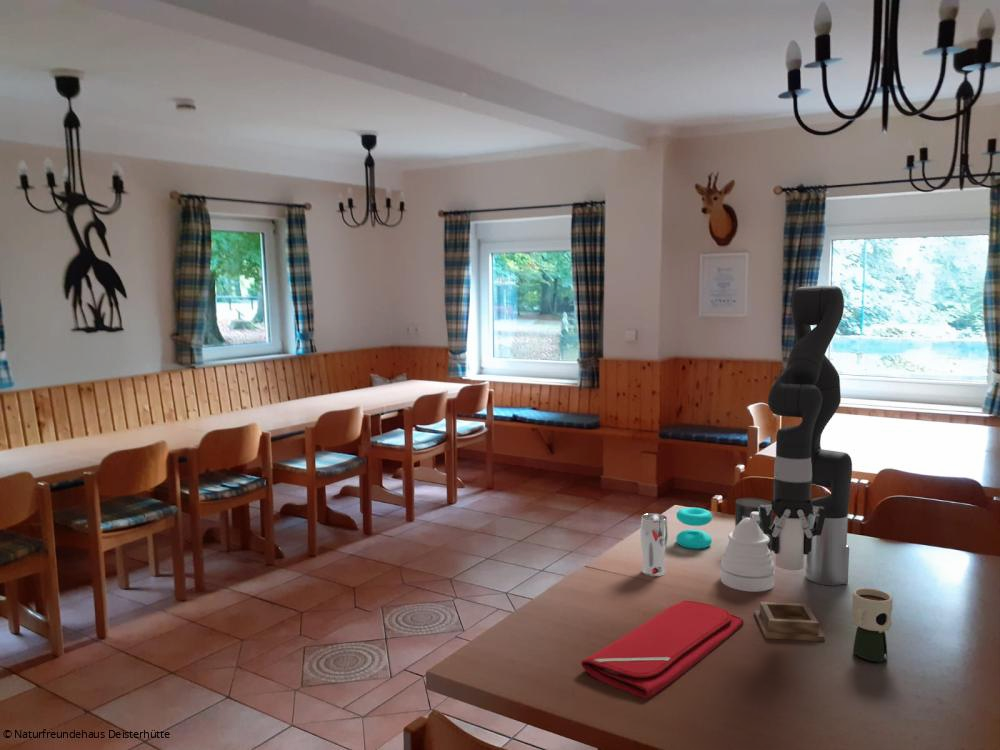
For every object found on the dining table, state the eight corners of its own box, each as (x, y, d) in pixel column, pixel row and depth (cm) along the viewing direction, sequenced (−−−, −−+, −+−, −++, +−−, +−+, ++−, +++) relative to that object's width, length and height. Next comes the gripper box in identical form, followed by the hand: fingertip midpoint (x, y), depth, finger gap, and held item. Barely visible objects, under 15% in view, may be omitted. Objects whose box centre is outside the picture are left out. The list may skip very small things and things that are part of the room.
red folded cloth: (745, 627, 166) (745, 610, 166) (650, 703, 136) (650, 683, 135) (680, 608, 177) (680, 592, 176) (578, 675, 146) (578, 656, 146)
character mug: (873, 672, 145) (876, 607, 144) (838, 658, 151) (840, 595, 150) (901, 655, 152) (904, 593, 150) (866, 642, 157) (869, 582, 156)
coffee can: (773, 558, 207) (774, 508, 206) (734, 555, 210) (735, 506, 209) (771, 546, 217) (772, 498, 216) (734, 543, 220) (735, 496, 219)
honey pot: (766, 573, 197) (768, 506, 195) (780, 592, 184) (782, 520, 182) (716, 572, 198) (717, 505, 196) (726, 591, 185) (727, 519, 183)
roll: (798, 561, 166) (800, 511, 165) (806, 570, 161) (808, 519, 160) (772, 560, 167) (773, 511, 166) (780, 569, 161) (781, 518, 160)
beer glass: (669, 577, 195) (670, 520, 193) (642, 577, 195) (643, 520, 193) (664, 567, 202) (665, 513, 200) (638, 567, 202) (638, 513, 200)
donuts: (671, 512, 217) (683, 504, 226) (671, 546, 218) (682, 537, 227) (706, 517, 212) (716, 509, 221) (705, 552, 213) (715, 542, 222)
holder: (809, 617, 170) (809, 602, 170) (824, 641, 158) (825, 625, 158) (754, 614, 172) (754, 599, 171) (765, 638, 160) (765, 622, 159)
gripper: (822, 473, 164) (820, 548, 166) (754, 471, 166) (752, 546, 168) (833, 481, 157) (830, 560, 158) (761, 480, 159) (759, 557, 160)
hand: (790, 552), depth 163 cm, fingers closed on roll, 5 cm apart
